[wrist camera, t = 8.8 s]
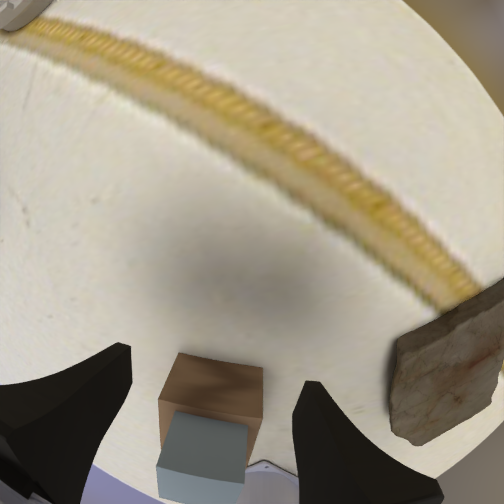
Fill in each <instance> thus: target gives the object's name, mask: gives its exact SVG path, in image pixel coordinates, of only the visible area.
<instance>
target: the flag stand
mask: <svg viewBox="0 0 504 504" xmlns="http://www.w3.org/2000/svg"><path fill="white" fill-rule="evenodd" d="M51 2H52V0H0V29H1V28H2V29H4V30H7V31H15V30H18V29H19V28H21V27H23V26H25V25H26V24H28V23H29V22H30V21H31V20H33V19H34V18H35V17H36V16H37V15H39V14H40V13H41V12H42V11H43V10H44V9H45V8H46V7H47V6H48V5H49V4H50V3H51Z"/></svg>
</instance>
